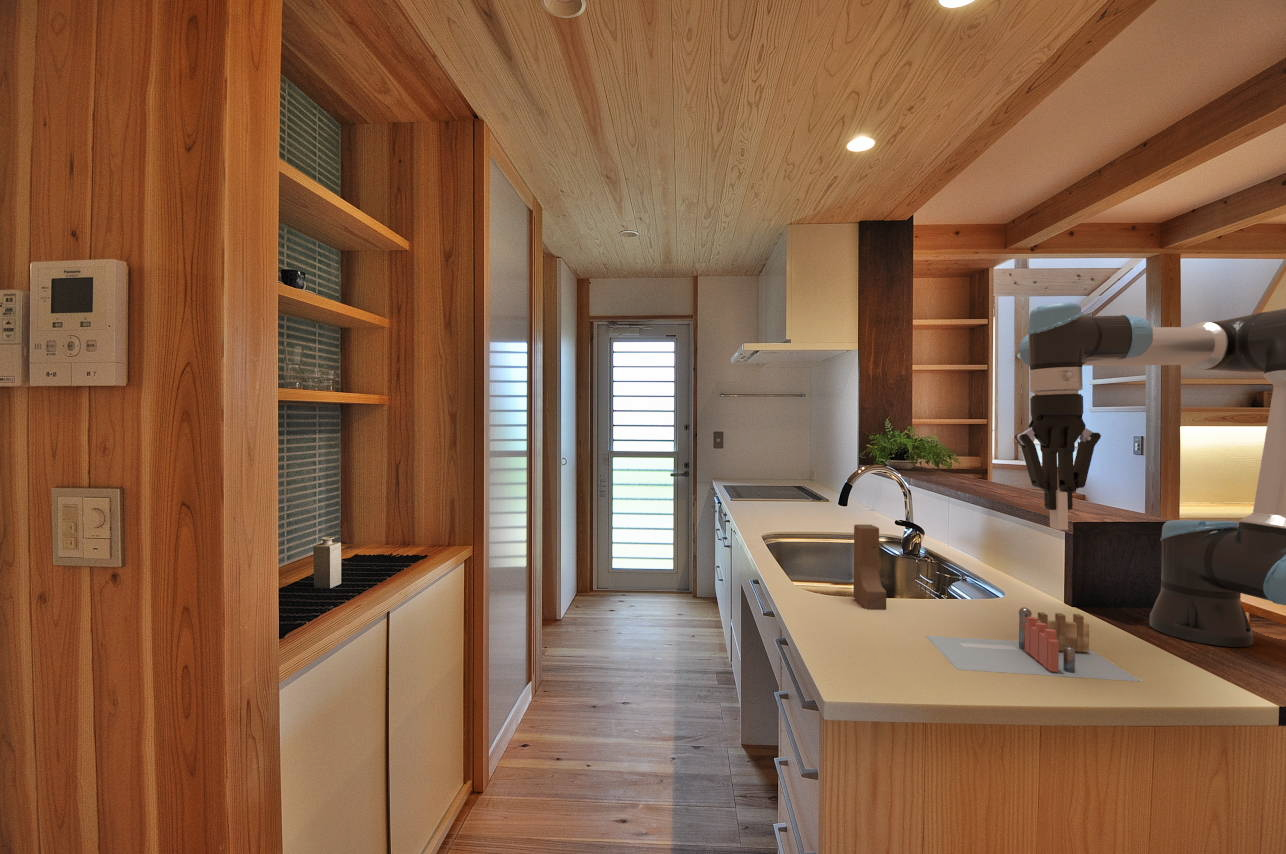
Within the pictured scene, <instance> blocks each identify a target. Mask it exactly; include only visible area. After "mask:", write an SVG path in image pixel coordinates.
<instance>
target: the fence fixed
mask: <svg viewBox="0 0 1286 854" xmlns="http://www.w3.org/2000/svg"><path fill="white" fill-rule="evenodd" d="M1054 613H1055V614H1054V615H1055V617H1054V620H1050V619H1049V620H1048V618H1049V615H1048V614H1047V613H1045V612H1044V611H1043V612H1041V611H1039V612H1037V618H1038V623H1045V624H1046V625H1047V629H1054V630H1055V631H1057V636H1056V640H1057V641H1058V642H1059V651H1064V646H1065V645H1067V646H1072V647H1075V651H1077V652H1089V649H1090V623H1087V622H1085V621H1084V619H1085V617H1084V616H1083V615H1082V614H1080V613H1078V614H1077V613H1073V615H1072V621H1066V619H1067V618H1066V617H1067V616H1066V615H1065V614H1063V613H1061V612H1054Z"/></svg>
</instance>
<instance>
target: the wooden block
mask: <svg viewBox="0 0 1286 854" xmlns="http://www.w3.org/2000/svg"><path fill="white" fill-rule="evenodd" d="M852 598H853V601H855V602H856V603H858V605H860V606H861V607H862V608H864V610H865V609H866V610H867V611H868V610H869V611H870V610H871V611H873V610H875V611H880V610H881V611H882V610H883V611H885V610H887V591H886V589H885V588H884V587H883V585H882V583H881V579H880V527H878V526H876V525H873V524H857V523H856V524H854V525H853V597H852ZM854 598H855V599H854Z"/></svg>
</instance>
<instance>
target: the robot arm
mask: <svg viewBox="0 0 1286 854" xmlns="http://www.w3.org/2000/svg"><path fill="white" fill-rule="evenodd" d="M1028 319H1029V320H1028V331H1027V335H1025V336H1024V337H1023V338H1022V339H1021V342H1020V344H1019V350H1018V351H1019V357H1020V359H1021V361H1022V362H1023V363H1024V364H1025V365H1026V366H1027V367H1029V392H1030V393H1031V394H1033V395H1032V396H1031V397H1030V402H1029V403H1030V416H1031V421H1030V423H1029V424H1028V429H1026V430H1025V431H1023V432H1022V433H1017V434H1015V435H1014V439H1015V441H1016V442H1017V443H1018V445H1019V446H1020V448H1021V451H1022V455H1023V459H1024V463H1025V466H1026V469H1027V472H1028V475H1029V479H1030V483H1031V485H1032V487H1035V488H1038V489H1040V490H1042V491H1043V494H1044V498H1043V499H1044V508H1045V510H1049V528H1052V529H1054V530H1056V531H1057V530H1058V531H1068V530H1069V514H1068V513H1069V511H1071V510H1073V507H1074V506H1073V505H1074V504H1073V493H1075V492H1076V491H1077V489H1081V488H1082V489H1083V488H1085V486H1086V484H1087V479H1088V475H1089V472H1090V471H1089V470H1090V467H1091V464H1092V463H1091V462H1092V458H1093V455H1094V450H1095V446H1096V445H1097V443H1099V441H1100V439H1101V437H1102V434H1101V433H1100V432H1094V431H1092V430H1090V429H1088V428H1087V427H1086V422H1085V421H1084V420H1083V415H1084V396H1083V395H1082V393H1079V392H1080V391H1082V390H1083V389H1084V388H1083V385H1084V384H1083V383H1084V382H1083V366H1186V367H1188V368H1189V369H1192V370H1197V371H1225V372H1239V373H1240V372H1241V373H1263V378H1264V379H1266V380H1267V381H1268V382H1269V383H1270V384H1271V385H1272V386H1273V387H1272V393H1271V394H1272V395H1271V402H1270V406H1269V412H1268V413H1269V414H1268V420H1267V424H1266V431H1265V435H1264V436H1265V437H1264V442H1263V443H1264V444H1263V449H1262V456H1261V460H1260V468H1259V472H1258V473H1259V474H1258V479H1257V485H1256V492H1255V498H1254V504H1253V509H1252V513H1250V514H1249V515H1248V516H1244V517H1243V518H1241V519H1239V521H1237V520H1236V521H1235V520H1210V519H1209V520H1207V519H1205V520H1202V519H1174V520H1173V519H1171V520H1167V521H1166V522H1165V523H1163V525H1162V528H1161V537H1160V570H1161V571H1160V576H1161V577H1160V578H1161V579H1160V580H1161V581H1160V590H1159V591H1160V592H1159V594H1158V597H1157V598H1156V600H1155V602H1154V605H1153V608H1152V610H1151V611H1150V613H1149V626H1150V627H1151V628H1152V629H1153V630H1155V631H1157V632H1159V633H1163V634H1165V635H1166V636H1167V635H1168V636H1171V637H1173V638H1174V637H1175V638H1178V639H1181V640H1186V641H1189V642H1195V643H1199V644H1205V645H1211V646H1217V647H1218V646H1220V647H1226V648H1227V647H1229V648H1230V647H1231V648H1244V647H1251V646H1252V645H1253V644H1254V631H1253V629H1252V627H1251V624H1250V622H1249V619H1248V617H1247V614H1246V612H1245V609H1244V606H1243V605H1242V599H1241V598H1242V597H1241V594H1243V595H1246V596H1251V597H1255V598H1257V599H1258V598H1259V599H1261V600H1265V601H1269V602H1272V603H1274V604H1277V605H1282V606H1286V308H1281V309H1275V310H1270V311H1264V312H1263V311H1262V312H1258V313H1251V314H1249V315H1244V316H1239V317H1235V318H1234V317H1233V318H1228V319H1224V320H1217V321H1216V320H1215V321H1201V322H1197V323H1194V324H1192V325H1190V326H1174V327H1173V326H1171V327H1170V326H1167V327H1165V326H1160V327H1159V326H1157V327H1156V326H1154V327H1153V326H1152V324H1151V323H1150V322H1149V320H1147V319H1146V318H1145V317H1142V316H1138V315H1126V314H1121V315H1096V316H1095V315H1091V316H1090V315H1088V316H1087V315H1083V312H1082V306H1081V305H1080V303H1076V302H1068V301H1067V302H1055V303H1049V304H1044V305H1040V306H1036V307H1034V308H1033V309H1032V310H1030V313H1029V317H1028ZM1035 439H1036V440H1037V441H1038V443H1039V445H1040V446H1039V447H1040V449H1039V450H1040V451H1041V461H1040V457H1039V454H1038V449H1037V447H1036V444H1035V443H1034V441H1035ZM1078 440H1080V441H1079V443H1078V446H1077V449H1076V445H1075V443H1076V442H1077V441H1078ZM1075 451H1076V454H1075V458H1074V452H1075ZM1058 489H1059V490H1058Z"/></svg>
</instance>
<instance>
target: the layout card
mask: <svg viewBox="0 0 1286 854" xmlns="http://www.w3.org/2000/svg"><path fill="white" fill-rule="evenodd" d="M925 637H926V638H927V639H928V641H930V642H931V643H932V644H933V645H934V646H935V647H936V648H937V650H939V652H940V653H941V654H942V655H943V656H944V657H945V658H946V659H947V660H948V661H949V662H950V663H951V664H952V666H954V667H955V669H956V670H958V671H959V670H960V671H972V672H973V671H974V672H987V673H988V672H989V673H1004V674H1019V675H1032V676H1033V675H1035V676H1049V677H1061V678H1062V677H1064V678H1079V679H1093V680H1111V681H1126V682H1136V683H1137V682H1138V683H1139V682H1140V683H1141V682H1142V683H1143V681H1142V680H1141V679H1139V678H1137V677H1136V676H1134V675H1133V674H1131V673H1129V672H1128V671H1126V670H1124V669H1123V668H1121V667H1120V666H1118V665H1116V664H1115V663H1113V662H1112V661H1111V660H1108V659H1107V658H1106V657H1103V656H1102V655H1100V654H1099V653H1097V652H1095V651H1093V650H1092V649H1090V648H1089V652H1077V651H1075V673H1069V672H1066V671H1064V670H1063V654H1064V651H1059V672H1053V671H1050V670H1048V669H1047V668H1045V667H1044V665H1042V664H1041V663H1040V662H1039V661H1037V660H1036V659H1035V658H1034V657H1033V656H1032V655H1030V654H1029V653H1027V651H1025V650H1022V649H1020V648H1019V640H1003V639H990V638H989V639H987V638H973V637H972V638H969V637H954V636H953V637H951V636H938V635H926V636H925Z"/></svg>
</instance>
